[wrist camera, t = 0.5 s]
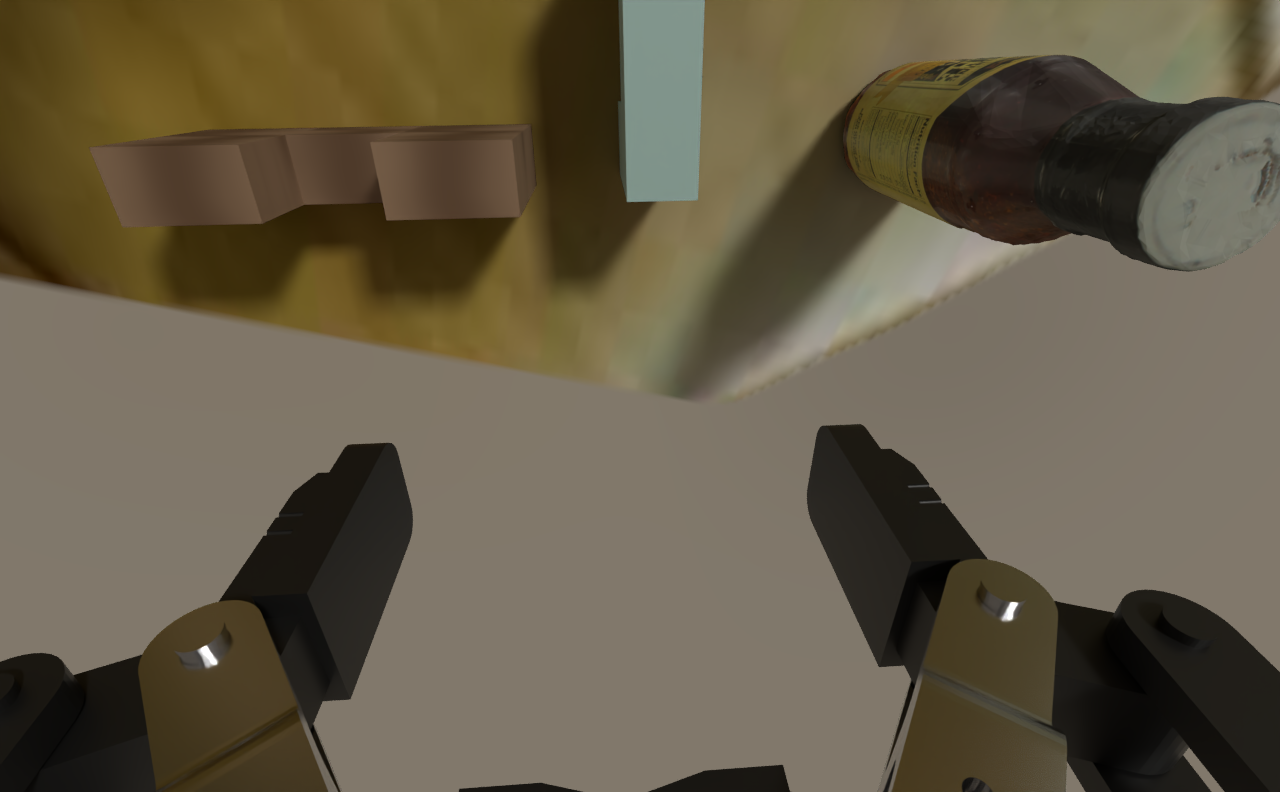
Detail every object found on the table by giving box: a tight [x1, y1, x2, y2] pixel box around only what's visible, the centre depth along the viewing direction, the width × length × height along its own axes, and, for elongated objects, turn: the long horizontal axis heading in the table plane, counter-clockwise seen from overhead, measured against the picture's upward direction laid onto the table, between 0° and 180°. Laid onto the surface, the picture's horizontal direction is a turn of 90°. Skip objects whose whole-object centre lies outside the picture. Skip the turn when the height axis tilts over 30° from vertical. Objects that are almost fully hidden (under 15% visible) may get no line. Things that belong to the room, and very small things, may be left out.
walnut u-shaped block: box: [89, 124, 537, 227], centre depth 27 cm, size 16×3×8 cm, turn 91°
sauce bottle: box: [843, 55, 1280, 271], centre depth 23 cm, size 7×6×20 cm
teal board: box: [618, 0, 705, 202], centre depth 26 cm, size 12×3×8 cm, turn 1°
